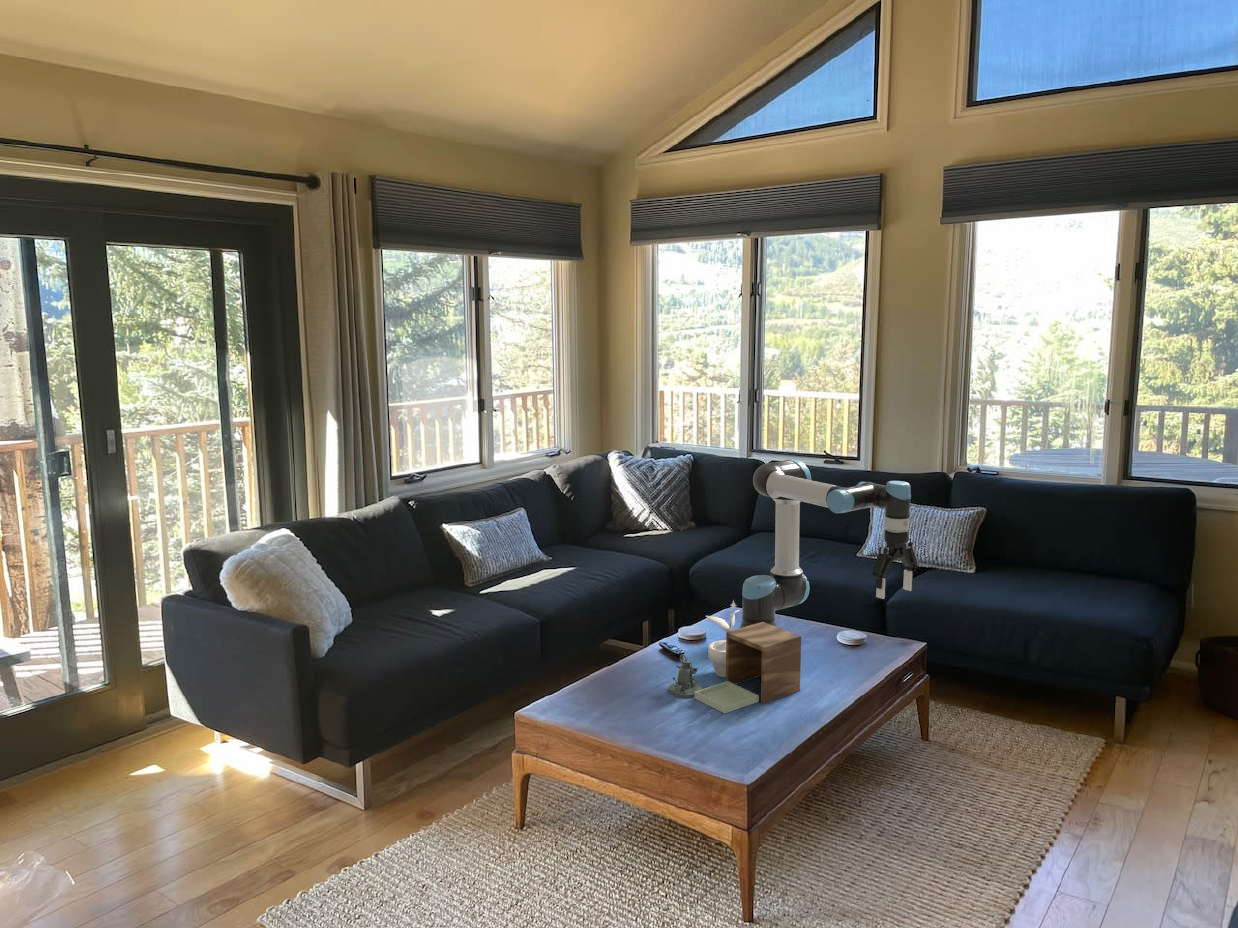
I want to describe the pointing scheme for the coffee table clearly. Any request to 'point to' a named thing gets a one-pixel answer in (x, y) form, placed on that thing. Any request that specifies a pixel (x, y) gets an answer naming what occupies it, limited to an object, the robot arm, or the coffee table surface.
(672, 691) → the figurine
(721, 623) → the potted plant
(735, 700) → the tray
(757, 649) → the shelf
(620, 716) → the coffee table surface
